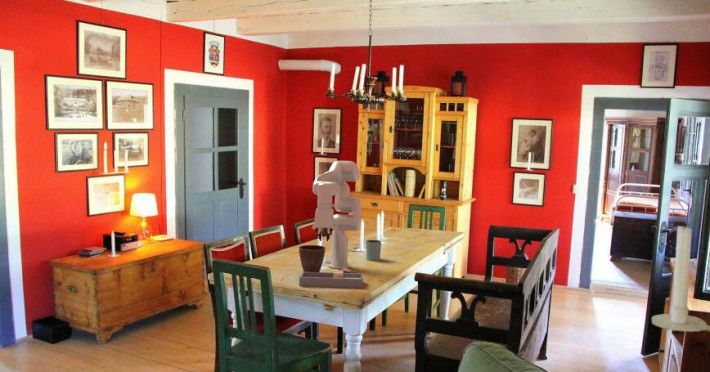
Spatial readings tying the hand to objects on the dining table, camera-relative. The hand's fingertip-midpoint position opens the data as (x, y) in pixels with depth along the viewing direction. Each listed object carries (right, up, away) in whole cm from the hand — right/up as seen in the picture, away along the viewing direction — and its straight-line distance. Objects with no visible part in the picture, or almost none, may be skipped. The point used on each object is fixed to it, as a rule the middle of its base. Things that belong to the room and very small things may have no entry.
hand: (324, 240), depth 298 cm
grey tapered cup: (+28, -18, +63) cm, 71 cm away
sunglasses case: (+11, -22, +20) cm, 32 cm away
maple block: (+7, -21, +2) cm, 22 cm away
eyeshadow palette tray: (+4, -23, +2) cm, 24 cm away
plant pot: (-8, -22, +18) cm, 29 cm away
